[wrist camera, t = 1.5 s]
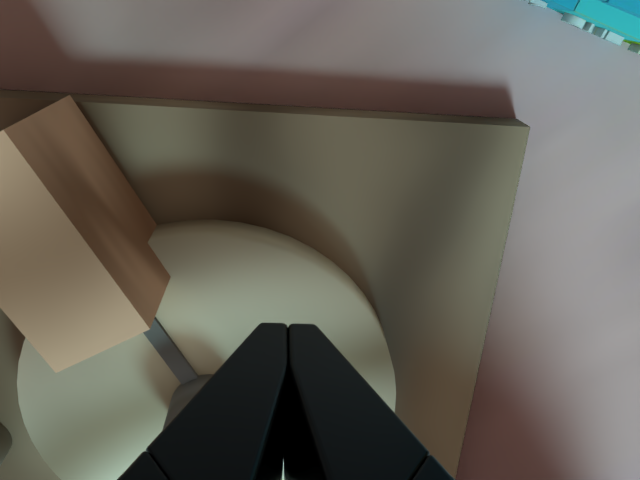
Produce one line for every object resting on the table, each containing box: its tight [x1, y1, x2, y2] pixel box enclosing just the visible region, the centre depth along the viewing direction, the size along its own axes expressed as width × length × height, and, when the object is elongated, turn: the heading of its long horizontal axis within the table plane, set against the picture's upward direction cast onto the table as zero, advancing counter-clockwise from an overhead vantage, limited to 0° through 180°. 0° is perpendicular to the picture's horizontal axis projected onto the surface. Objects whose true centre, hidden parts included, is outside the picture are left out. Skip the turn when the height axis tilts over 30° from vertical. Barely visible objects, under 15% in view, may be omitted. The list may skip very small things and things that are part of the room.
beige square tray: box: [0, 90, 530, 480], centre depth 20 cm, size 20×20×6 cm
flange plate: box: [0, 95, 396, 480], centre depth 19 cm, size 18×13×4 cm
